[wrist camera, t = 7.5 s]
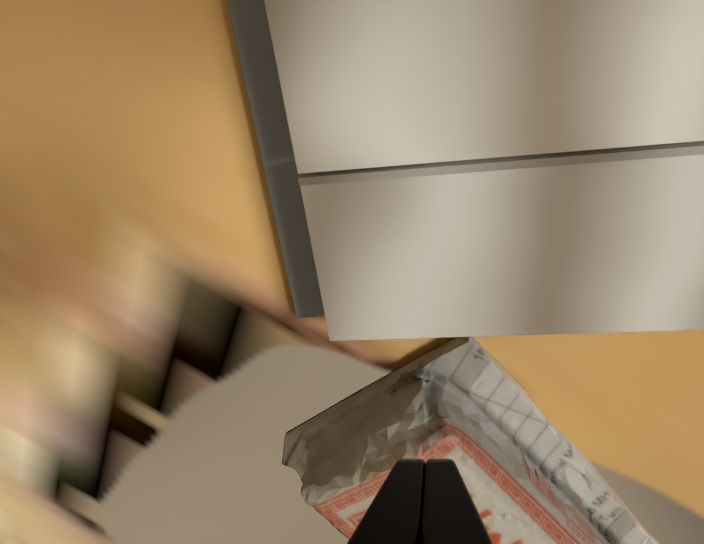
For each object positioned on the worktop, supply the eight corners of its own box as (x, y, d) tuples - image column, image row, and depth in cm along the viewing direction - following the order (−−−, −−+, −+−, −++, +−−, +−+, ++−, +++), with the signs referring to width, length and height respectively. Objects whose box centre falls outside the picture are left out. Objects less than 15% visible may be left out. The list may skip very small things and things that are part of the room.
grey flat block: (888, 108, 17) (927, 127, 15) (833, 296, 20) (861, 326, 18) (308, 158, 20) (297, 178, 18) (336, 315, 23) (329, 342, 21)
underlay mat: (1216, -692, 10) (1235, -707, 10) (881, 289, 20) (887, 294, 19) (142, -405, 14) (137, -411, 13) (297, 312, 23) (296, 317, 23)
